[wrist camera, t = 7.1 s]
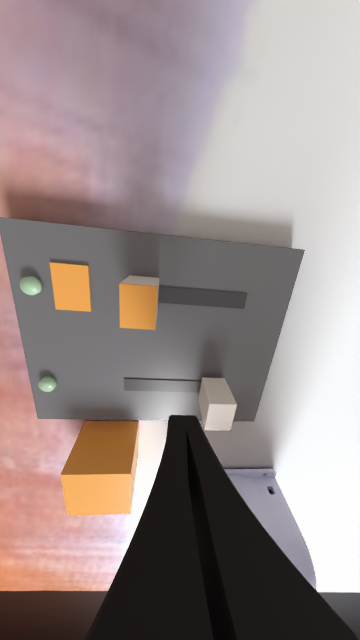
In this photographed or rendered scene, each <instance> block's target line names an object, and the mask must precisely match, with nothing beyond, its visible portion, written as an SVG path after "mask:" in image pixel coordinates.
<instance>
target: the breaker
mask: <svg viewBox="0 0 360 640" xmlns="http://www.w3.org/2000/svg"><path fill="white" fill-rule="evenodd" d="M198 402H199V407H200V411H201V416H202V421H203V425H204V430H211V431H231V427H232V423H233V419H234V415H235V411H236V407H237V404H236V401H235V399H234V397H233V395H232V393H231V390H230V388H229V386H228V384H227V382H226V379H225V378H205V377H202V380H201V387H200V393H199V399H198Z"/></svg>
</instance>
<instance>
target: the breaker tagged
mask: <svg viewBox="0 0 360 640" xmlns="http://www.w3.org/2000/svg"><path fill="white" fill-rule="evenodd" d="M158 293H159V278H156V277H144V276H132V275H129V276H128V277H127V278H126V279H124V280H123V281H122V282H121V283H120V284H119V304H120V328H131V329H148V330H155V329H156V320H157V310H158Z"/></svg>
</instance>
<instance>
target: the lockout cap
mask: <svg viewBox="0 0 360 640" xmlns="http://www.w3.org/2000/svg"><path fill="white" fill-rule="evenodd" d="M138 427H139V421H85V422H84V425H83V427H82V429H81V431H80V433H79V435H78V438H77V440H76V442H75V444H74V446H73V449H72V451H71V453H70V455H69V457H68V460H67V462H66V464H65V466H64V468H63V470H62V473H61V481H62V487H63V492H64V498H65V504H66V510H67V516H76V515H105V514H130V512H131V504H132V496H133V489H134V481H135V473H136V466H137V458H138Z"/></svg>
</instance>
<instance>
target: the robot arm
mask: <svg viewBox="0 0 360 640" xmlns="http://www.w3.org/2000/svg"><path fill="white" fill-rule="evenodd" d="M275 476H276V472H275V470H274V469H224V468H223V467H222V465H221V463H220V462H219V460H218V458H217V456H216V454H215V453H214V451H213V449H212V447H211V445H210V443H209V442H208V440H207V438H206V436H205V433H204V431H203V429H202V427H201V425H200V423H199V420H198V418H197V417H196V415H170V416H169V420H168V429H167V437H166V444H165V448H164V452H163V455H162V459H161V463H160V466H159V469H158V472H157V475H156V478H155V481H154V484H153V487H152V490H151V493H150V495H149V498H148V501H147V503H146V506H145V509H144V511H143V514H142V516H141V519H140V521H139V523H138V526H137V528H136V531H135V533H134V535H133V538H132V540H131V542H130V545H129V547H128V549H127V551H126V554H125V556H124V558H123V560H122V562H121V565H120V567H119V569H118V571H117V573H116V576H115V578H114V580H113V582H112V584H111V586H110V588H109V591H108V593H107V595H106V597H105V599H104V601H103V603H102V605H101V607H100V609H99V611H98V613H97V615H96V617H95V619H94V621H93V623H92V625H91V627H90V629H89V631H88V633H87V635H86V637H85V639H84V640H358V638H357V636H356V634H355V633H354V632H353V630H352V629H351V628H350V627H349V626H348V625H347V624H346V623H345V622H344V621H343V620H342V618H341V617H340V616H339V615H338V614H337V613H336V612H335V611H334V610H333V609H332V608H331V607H330V606H329V604H328V603H327V602H326V601H325V600H324V599H323V598H322V597H321V595H320V594H319V593H318V592H317V591H316V577H315V572H314V567H313V564H312V560H311V557H310V554H309V551H308V548H307V545H306V543H305V540H304V538H303V536H302V534H301V532H300V530H299V527H298V525H297V523H296V521H295V519H294V517H293V515H292V513H291V511H290V508H289V506H288V504H287V502H286V500H285V498H284V496H283V494H282V492H281V490H280V487H279V485H278V483H277V481H276V479H275Z"/></svg>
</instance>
